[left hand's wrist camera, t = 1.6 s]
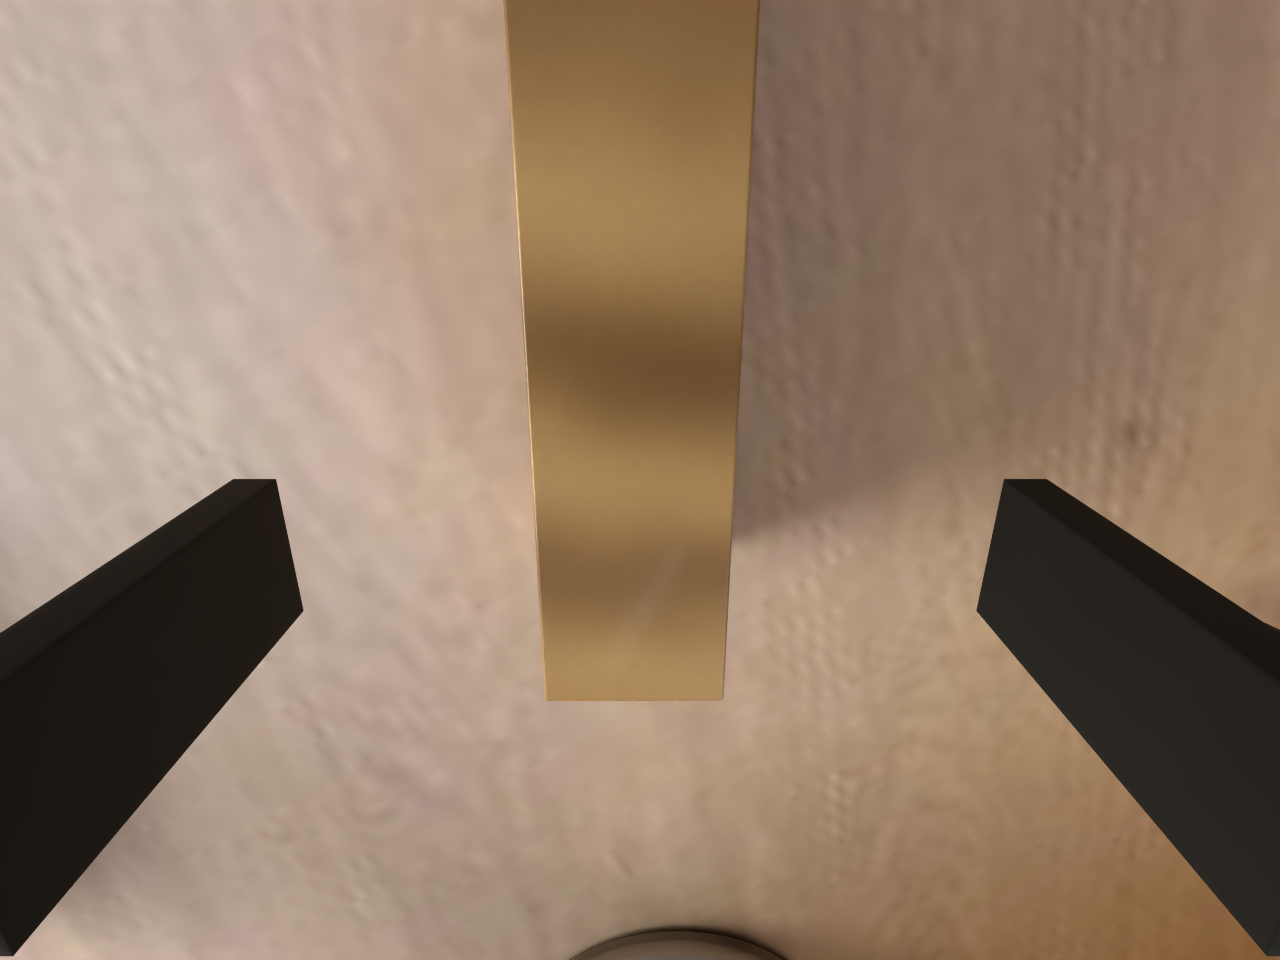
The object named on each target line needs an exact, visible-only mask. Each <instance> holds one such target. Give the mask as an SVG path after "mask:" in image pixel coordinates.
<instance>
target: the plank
mask: <svg viewBox="0 0 1280 960" xmlns="http://www.w3.org/2000/svg"><path fill="white" fill-rule="evenodd" d="M759 11H760V0H504V15H505V32H506V49H507V65H508V82H509V99H510V116H511V133H512V150H513V167H514V184H515V200H516V217H517V234H518V251H519V268H520V285H521V302H522V319H523V335H524V352H525V369H526V386H527V403H528V420H529V437H530V454H531V471H532V487H533V504H534V521H535V538H536V555H537V572H538V589H539V606H540V622H541V639H542V656H543V673H544V690H545V699H546V700H547V701H656V700H722V699H723V695H724V676H725V657H726V638H727V619H728V600H729V581H730V562H731V543H732V524H733V505H734V486H735V467H736V448H737V429H738V410H739V391H740V372H741V353H742V334H743V315H744V296H745V277H746V258H747V239H748V220H749V201H750V182H751V163H752V144H753V125H754V106H755V87H756V68H757V49H758V30H759Z"/></svg>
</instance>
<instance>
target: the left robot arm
mask: <svg viewBox="0 0 1280 960" xmlns="http://www.w3.org/2000/svg"><path fill="white" fill-rule="evenodd" d="M302 612H303V606H302V601H301V596H300V592H299V587H298V582H297V577H296V573H295V568H294V563H293V558H292V553H291V549H290V544H289V539H288V534H287V530H286V525H285V520H284V515H283V511H282V506H281V501H280V496H279V492H278V487H277V482H276V479H233V480H231V481H230V482H228V483H227V484H225V485H224V486H222V487H221V488H219V489H218V490H216V491H215V492H213V493H212V494H210V495H209V496H207V497H206V498H204V499H203V500H201V501H200V502H198V503H197V504H195V505H194V506H192V507H191V508H189V509H187V510H186V511H184V512H183V513H181V514H180V515H178V516H177V517H175V518H174V519H172V520H171V521H169V522H168V523H166V524H165V525H163V526H162V527H160V528H159V529H157V530H156V531H154V532H153V533H151V534H150V535H148V536H147V537H145V538H144V539H142V540H141V541H139V542H138V543H136V544H134V545H133V546H131V547H130V548H128V549H127V550H125V551H124V552H122V553H121V554H119V555H118V556H116V557H115V558H113V559H112V560H110V561H109V562H107V563H106V564H104V565H103V566H101V567H100V568H98V569H97V570H95V571H94V572H92V573H91V574H89V575H88V576H86V577H85V578H83V579H81V580H80V581H78V582H77V583H75V584H74V585H72V586H71V587H69V588H68V589H66V590H65V591H63V592H62V593H60V594H59V595H57V596H56V597H54V598H53V599H51V600H50V601H48V602H47V603H45V604H44V605H42V606H41V607H39V608H38V609H36V610H35V611H33V612H32V613H30V614H29V615H27V616H25V617H24V618H22V619H21V620H19V621H18V622H16V623H15V624H13V625H12V626H10V627H9V628H7V629H6V630H4V631H3V632H1V633H0V956H14V954H15V953H16V952H17V951H18V950H19V948H20V947H21V946H22V945H23V944H24V943H25V941H26V940H27V939H28V938H29V937H30V935H31V934H32V933H33V932H34V931H35V929H36V928H37V927H38V926H39V925H40V924H41V922H42V921H43V920H44V919H45V918H46V916H47V915H48V914H49V913H50V912H51V910H52V909H53V908H54V907H55V906H56V904H57V903H58V902H59V901H60V900H61V899H62V897H63V896H64V895H65V894H66V893H67V891H68V890H69V889H70V888H71V887H72V885H73V884H74V883H75V882H76V881H77V880H78V878H79V877H80V876H81V875H82V874H83V872H84V871H85V870H86V869H87V868H88V866H89V865H90V864H91V863H92V862H93V860H94V859H95V858H96V857H97V856H98V855H99V853H100V852H101V851H102V850H103V849H104V847H105V846H106V845H107V844H108V843H109V841H110V840H111V839H112V838H113V837H114V836H115V834H116V833H117V832H118V831H119V830H120V828H121V827H122V826H123V825H124V824H125V822H126V821H127V820H128V819H129V818H130V816H131V815H132V814H133V813H134V812H135V811H136V809H137V808H138V807H139V806H140V805H141V803H142V802H143V801H144V800H145V799H146V797H147V796H148V795H149V794H150V793H151V792H152V790H153V789H154V788H155V787H156V786H157V784H158V783H159V782H160V781H161V780H162V778H163V777H164V776H165V775H166V774H167V772H168V771H169V770H170V769H171V768H172V767H173V765H174V764H175V763H176V762H177V761H178V759H179V758H180V757H181V756H182V755H183V753H184V752H185V751H186V750H187V749H188V748H189V746H190V745H191V744H192V743H193V742H194V740H195V739H196V738H197V737H198V736H199V734H200V733H201V732H202V731H203V730H204V728H205V727H206V726H207V725H208V724H209V723H210V721H211V720H212V719H213V718H214V717H215V715H216V714H217V713H218V712H219V711H220V709H221V708H222V707H223V706H224V705H225V704H226V702H227V701H228V700H229V699H230V698H231V696H232V695H233V694H234V693H235V692H236V690H237V689H238V688H239V687H240V686H241V684H242V683H243V682H244V681H245V680H246V679H247V677H248V676H249V675H250V674H251V673H252V671H253V670H254V669H255V668H256V667H257V665H258V664H259V663H260V662H261V661H262V660H263V658H264V657H265V656H266V655H267V654H268V652H269V651H270V650H271V649H272V648H273V646H274V645H275V644H276V643H277V642H278V640H279V639H280V638H281V637H282V636H283V635H284V633H285V632H286V631H287V630H288V629H289V627H290V626H291V625H292V624H293V623H294V621H295V620H296V619H297V618H298V617H299V616H300V614H301V613H302ZM977 612H978V613H979V614H980V616H981V617H982V618H983V619H984V620H985V621H986V623H987V624H988V625H989V626H990V627H991V629H992V630H993V631H994V632H995V633H996V635H997V636H998V637H999V638H1000V639H1001V640H1002V642H1003V643H1004V644H1005V645H1006V646H1007V648H1008V649H1009V650H1010V651H1011V652H1012V654H1013V655H1014V656H1015V657H1016V658H1017V660H1018V661H1019V662H1020V663H1021V664H1022V665H1023V667H1024V668H1025V669H1026V670H1027V671H1028V673H1029V674H1030V675H1031V676H1032V677H1033V679H1034V680H1035V681H1036V682H1037V683H1038V684H1039V686H1040V687H1041V688H1042V689H1043V690H1044V692H1045V693H1046V694H1047V695H1048V696H1049V698H1050V699H1051V700H1052V701H1053V702H1054V704H1055V705H1056V706H1057V707H1058V708H1059V709H1060V711H1061V712H1062V713H1063V714H1064V715H1065V717H1066V718H1067V719H1068V720H1069V721H1070V723H1071V724H1072V725H1073V726H1074V727H1075V728H1076V730H1077V731H1078V732H1079V733H1080V734H1081V736H1082V737H1083V738H1084V739H1085V740H1086V742H1087V743H1088V744H1089V745H1090V746H1091V748H1092V749H1093V750H1094V751H1095V752H1096V753H1097V755H1098V756H1099V757H1100V758H1101V759H1102V761H1103V762H1104V763H1105V764H1106V765H1107V767H1108V768H1109V769H1110V770H1111V771H1112V772H1113V774H1114V775H1115V776H1116V777H1117V778H1118V780H1119V781H1120V782H1121V783H1122V784H1123V786H1124V787H1125V788H1126V789H1127V790H1128V792H1129V793H1130V794H1131V795H1132V796H1133V797H1134V799H1135V800H1136V801H1137V802H1138V803H1139V805H1140V806H1141V807H1142V808H1143V809H1144V811H1145V812H1146V813H1147V814H1148V815H1149V816H1150V818H1151V819H1152V820H1153V821H1154V822H1155V824H1156V825H1157V826H1158V827H1159V828H1160V830H1161V831H1162V832H1163V833H1164V834H1165V836H1166V837H1167V838H1168V839H1169V840H1170V841H1171V843H1172V844H1173V845H1174V846H1175V847H1176V849H1177V850H1178V851H1179V852H1180V853H1181V855H1182V856H1183V857H1184V858H1185V859H1186V860H1187V862H1188V863H1189V864H1190V865H1191V866H1192V868H1193V869H1194V870H1195V871H1196V872H1197V874H1198V875H1199V876H1200V877H1201V878H1202V880H1203V881H1204V882H1205V883H1206V884H1207V885H1208V887H1209V888H1210V889H1211V890H1212V891H1213V893H1214V894H1215V895H1216V896H1217V897H1218V899H1219V900H1220V901H1221V902H1222V903H1223V904H1224V906H1225V907H1226V908H1227V909H1228V910H1229V912H1230V913H1231V914H1232V915H1233V916H1234V918H1235V919H1236V920H1237V921H1238V922H1239V924H1240V925H1241V926H1242V927H1243V928H1244V929H1245V931H1246V932H1247V933H1248V934H1249V935H1250V937H1251V938H1252V939H1253V940H1254V941H1255V943H1256V944H1257V945H1258V946H1259V947H1260V948H1261V950H1262V951H1263V952H1264V953H1265V954H1266V956H1280V630H1279V629H1277V628H1275V627H1273V626H1271V625H1268V624H1266V623H1264V622H1262V621H1261V620H1259V619H1258V618H1256V617H1255V616H1253V615H1251V614H1250V613H1248V612H1247V611H1245V610H1244V609H1242V608H1241V607H1239V606H1238V605H1236V604H1235V603H1233V602H1232V601H1230V600H1229V599H1227V598H1226V597H1224V596H1223V595H1221V594H1220V593H1218V592H1217V591H1215V590H1214V589H1212V588H1211V587H1209V586H1208V585H1206V584H1205V583H1203V582H1202V581H1200V580H1199V579H1197V578H1195V577H1194V576H1192V575H1191V574H1189V573H1188V572H1186V571H1185V570H1183V569H1182V568H1180V567H1179V566H1177V565H1176V564H1174V563H1173V562H1171V561H1170V560H1168V559H1167V558H1165V557H1164V556H1162V555H1161V554H1159V553H1158V552H1156V551H1155V550H1153V549H1152V548H1150V547H1149V546H1147V545H1146V544H1144V543H1142V542H1141V541H1139V540H1138V539H1136V538H1135V537H1133V536H1132V535H1130V534H1129V533H1127V532H1126V531H1124V530H1123V529H1121V528H1120V527H1118V526H1117V525H1115V524H1114V523H1112V522H1111V521H1109V520H1108V519H1106V518H1105V517H1103V516H1102V515H1100V514H1099V513H1097V512H1096V511H1094V510H1093V509H1091V508H1089V507H1088V506H1086V505H1085V504H1083V503H1082V502H1080V501H1079V500H1077V499H1076V498H1074V497H1073V496H1071V495H1070V494H1068V493H1067V492H1065V491H1064V490H1062V489H1061V488H1059V487H1058V486H1056V485H1055V484H1053V483H1052V482H1050V481H1049V480H1047V479H1004V482H1003V487H1002V492H1001V496H1000V501H999V506H998V511H997V515H996V520H995V525H994V530H993V534H992V539H991V544H990V549H989V553H988V558H987V563H986V568H985V573H984V577H983V582H982V587H981V592H980V596H979V601H978V606H977ZM570 960H782V959H781V958H779V957H778V956H776V955H774V954H772V953H771V952H769V951H767V950H765V949H763V948H760V947H758V946H756V945H753V944H751V943H748V942H745V941H742V940H739V939H735V938H731V937H727V936H722V935H717V934H711V933H703V932H693V931H663V932H652V933H644V934H638V935H633V936H628V937H624V938H620V939H616V940H613V941H610V942H607V943H604V944H601V945H598V946H596V947H594V948H591V949H589V950H587V951H585V952H583V953H581V954H579V955H577V956H575V957H574V958H572V959H570Z"/></svg>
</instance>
